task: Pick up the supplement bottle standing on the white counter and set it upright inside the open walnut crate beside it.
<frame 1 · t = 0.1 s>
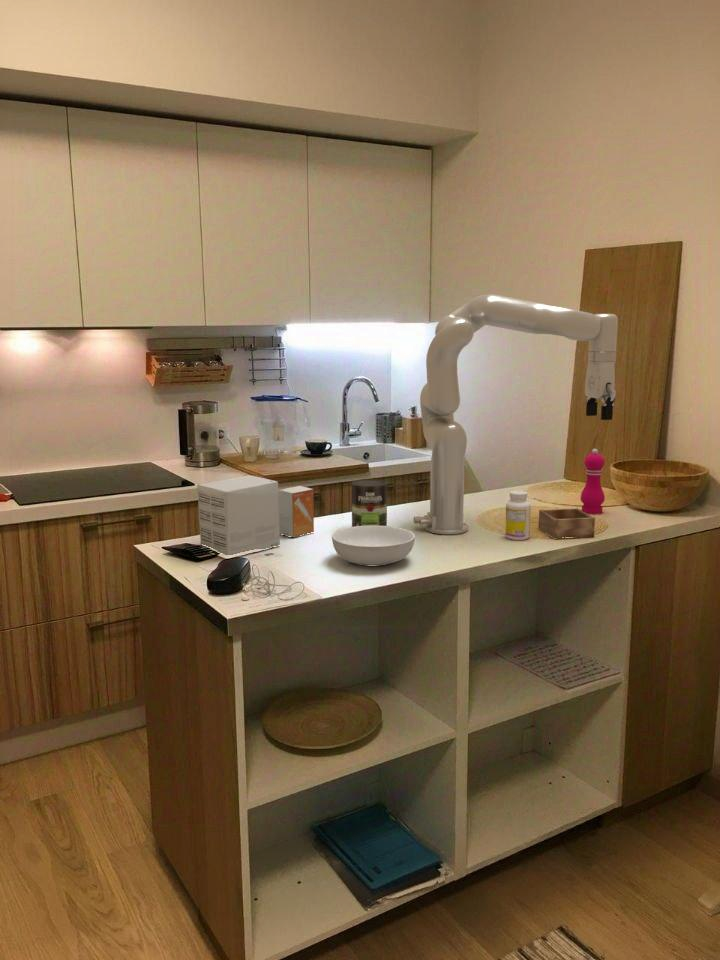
hand: (598, 417, 233), 31 cm above the countertop, tool pointing down, fingers open, 9 cm apart
coffee can: (369, 531, 232), on the countertop
pepper mill: (591, 512, 252), on the countertop
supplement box: (240, 549, 215), on the countertop
serving bowl: (373, 561, 203), on the countertop
small box: (296, 534, 229), on the countertop
supplement bottle: (517, 538, 223), on the countertop
crate: (565, 532, 227), on the countertop
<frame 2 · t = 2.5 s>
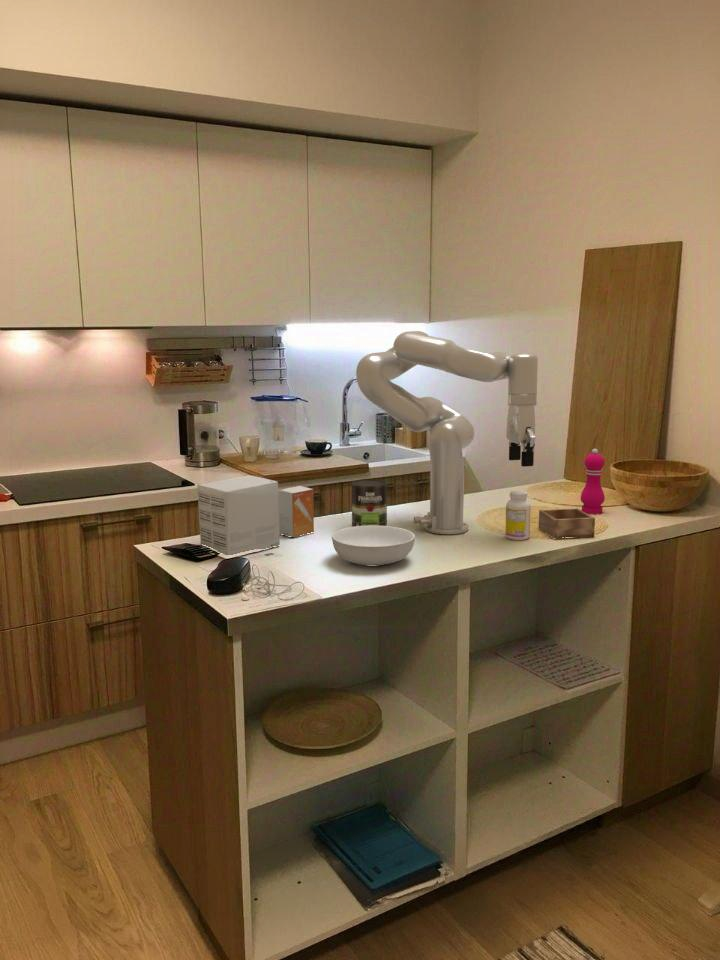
hand: (520, 463, 219), 21 cm above the countertop, tool pointing down, fingers open, 9 cm apart
nothing on the countertop moved.
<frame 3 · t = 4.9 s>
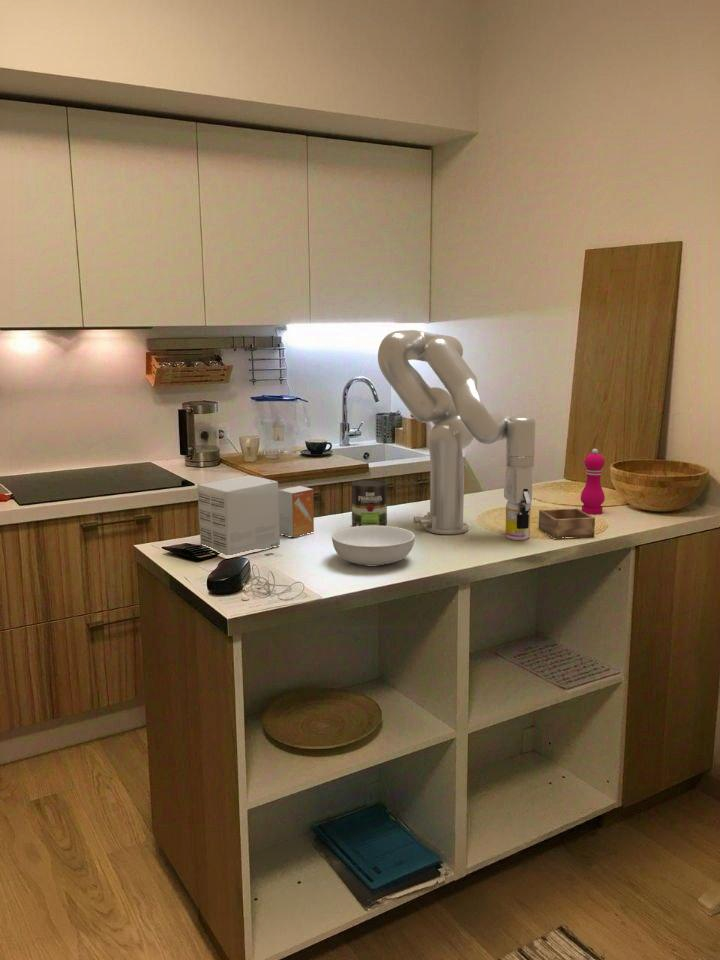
hand: (517, 524, 222), 4 cm above the countertop, tool pointing down, fingers closed on supplement bottle, 6 cm apart
supplement bottle: (517, 538, 223), on the countertop, touching gripper
everything else where it was.
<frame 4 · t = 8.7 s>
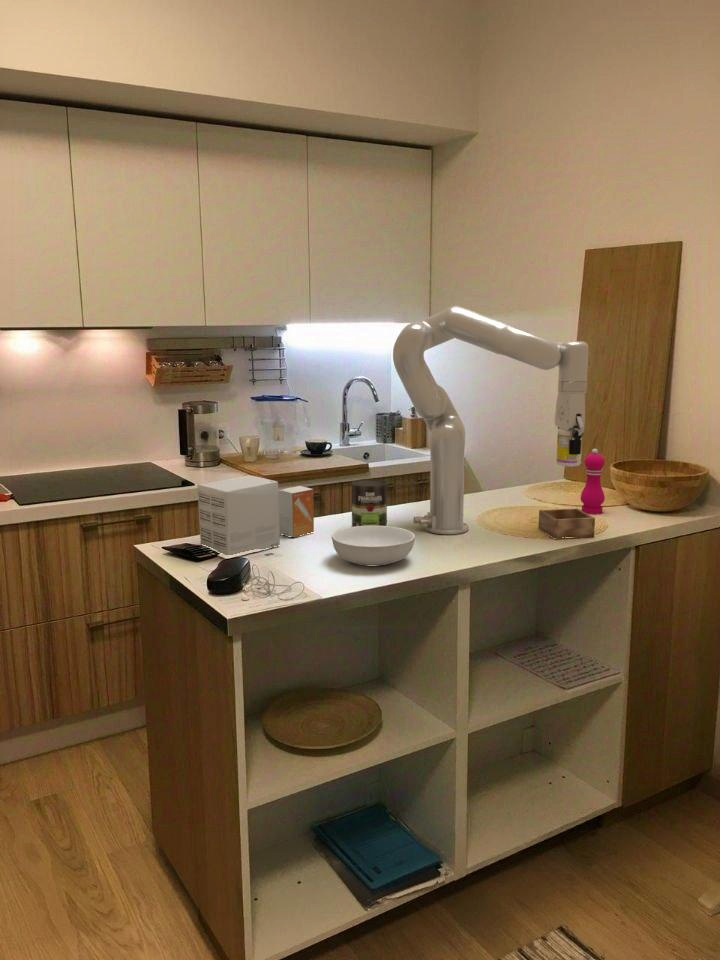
hand: (569, 451, 223), 23 cm above the countertop, tool pointing down, fingers closed on supplement bottle, 6 cm apart
supplement bottle: (568, 465, 224), point 19 cm above the countertop, touching gripper
everything else where it was.
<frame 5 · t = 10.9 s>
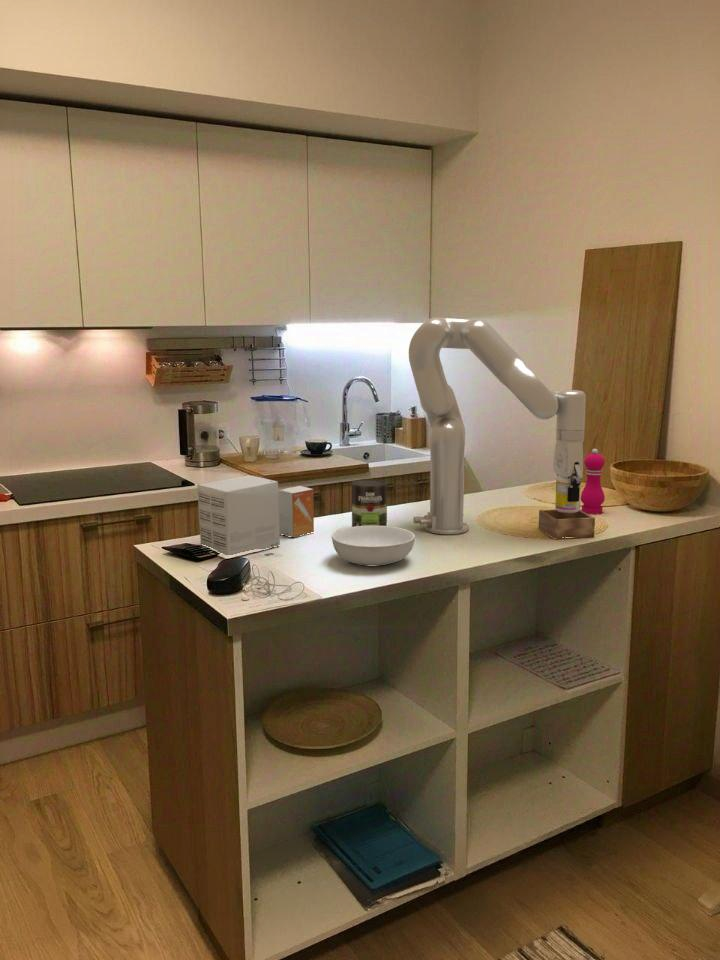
hand: (567, 498, 225), 10 cm above the countertop, tool pointing down, fingers closed on supplement bottle, 6 cm apart
supplement bottle: (567, 511, 226), point 6 cm above the countertop, touching gripper
everything else where it was.
when the fingers open (7 cm above the countertop, at t = 12.7 s): supplement bottle drops 2 cm, resting on crate.
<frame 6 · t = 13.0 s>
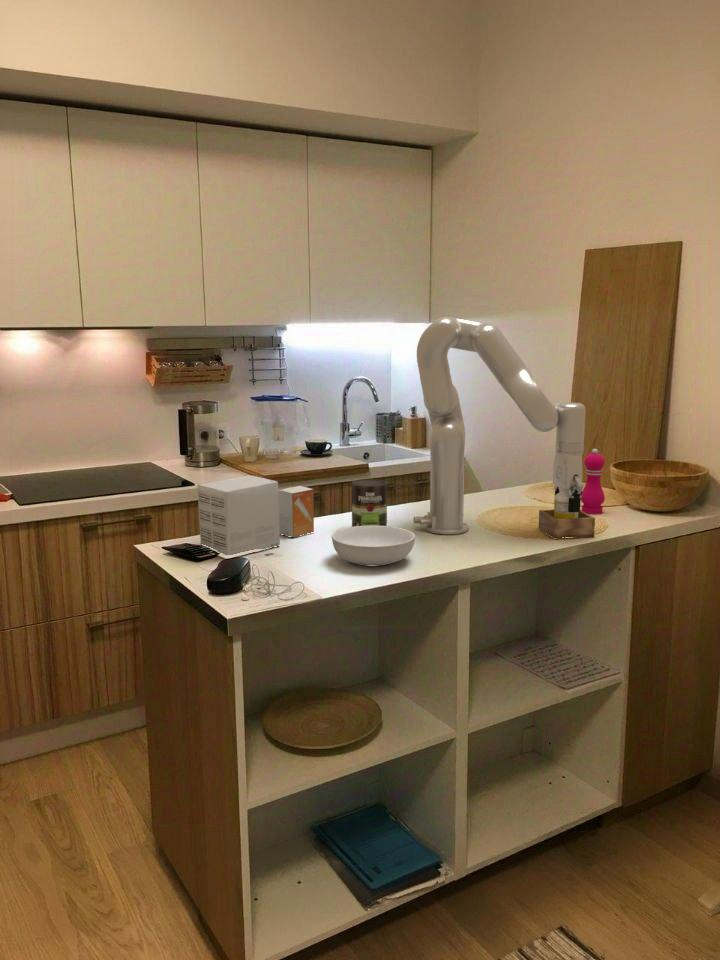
hand: (566, 507, 226), 7 cm above the countertop, tool pointing down, fingers open, 9 cm apart
supplement bottle: (565, 530, 227), point 1 cm above the countertop, touching crate
everything else where it was.
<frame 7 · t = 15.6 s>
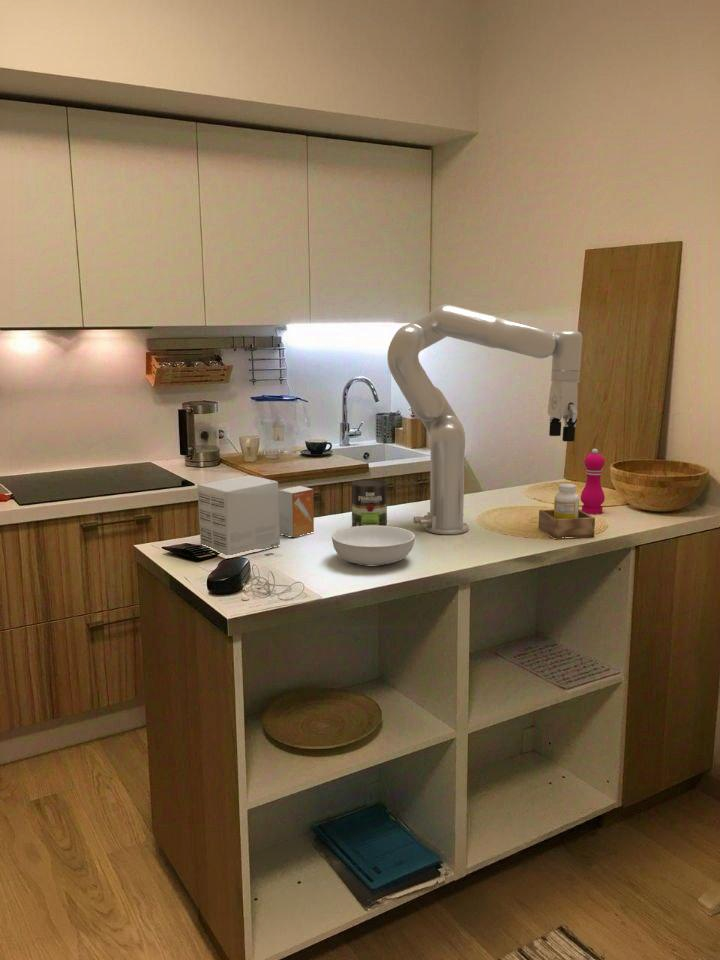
hand: (561, 438, 224), 27 cm above the countertop, tool pointing down, fingers open, 9 cm apart
nothing on the countertop moved.
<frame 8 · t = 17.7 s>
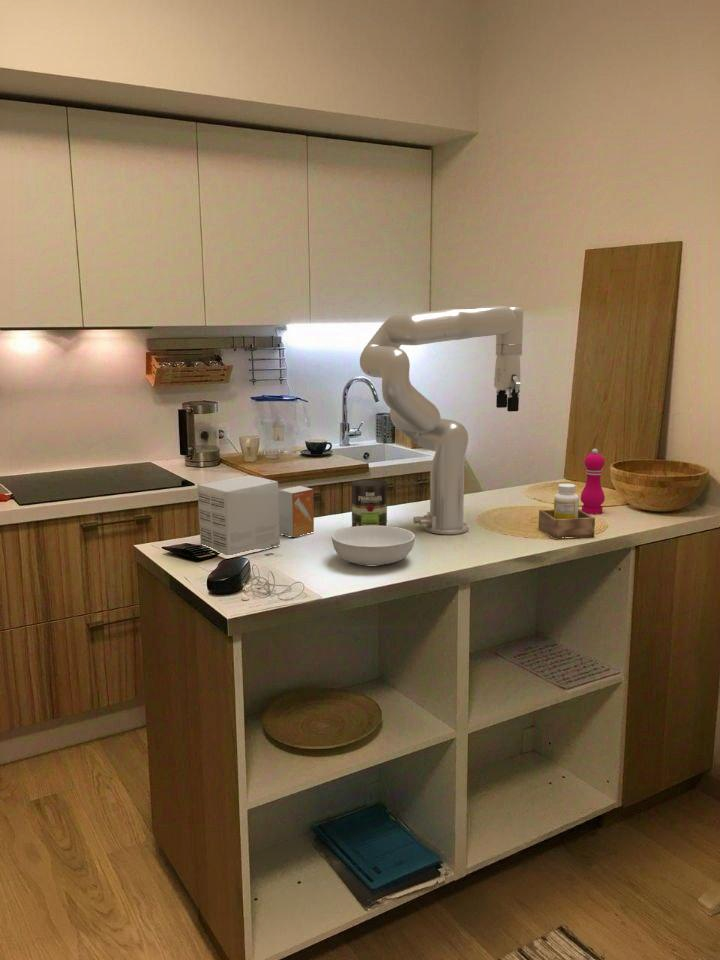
hand: (507, 409, 236), 33 cm above the countertop, tool pointing down, fingers open, 9 cm apart
nothing on the countertop moved.
at the end: supplement bottle 0.2 cm off-centre on the crate, point 0.8 cm above the crate's base; supplement bottle tilted 0°; the gripper is holding nothing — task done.
